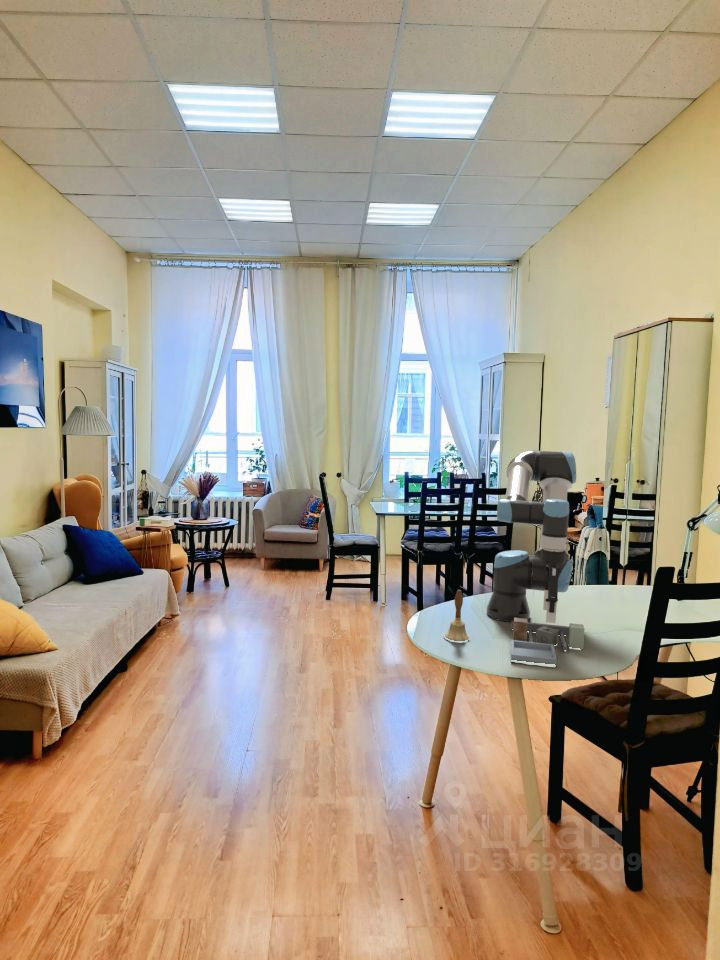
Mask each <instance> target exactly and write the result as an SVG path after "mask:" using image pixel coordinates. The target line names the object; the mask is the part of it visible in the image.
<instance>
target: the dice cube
mask: <svg viewBox="0 0 720 960" xmlns="http://www.w3.org/2000/svg"><path fill="white" fill-rule="evenodd" d="M558 633H559V630H557V629H553V628H550V627H546V626H543V627H541V628H539V629H537V633H535V634H536V635H535V643H544V644H554V645H556V644H557V643H559V636H558Z"/></svg>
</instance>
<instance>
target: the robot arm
mask: <svg viewBox="0 0 720 960" xmlns="http://www.w3.org/2000/svg"><path fill="white" fill-rule="evenodd" d="M506 477H507V485H506V490H505V491H506V492H505V497H504V499H503V498H501V499H498V500H497V507H496V519H497V521H498V522H504V523H508V524H512V523H513V524H527V525H538V526H539V525H540V535H539V536H540V538H539V548H538V549H537V550H536V551H534V556H530V554H529V552H528V551H526V550H519V549H518V550H517V549H516V550H515V549H514V550H505V551H501V552H498V553H496V555H495V557H494V565H493V569H494V570H493V582H492V583H493V585H492V594H491V595H490V598H489V600H488V604H487V607H486V615H487V614H488V615H489V616H488V615H487V616H488V617H490V616H491V617H490V618H492V617H493V618H492V619H494V618H495V619H494V620H497V619H498V621H501V620H502V622H508V621H509V623H512V621H514V618H524V619H527V621H529V619H530V616H531V611H530V606H529V602H528V599H527V590H534V591H542V592H544V596H543V608H542V609H543V611H546V613H545V615H546V616H545V622H546V623H550V624H556V621H557V620H556V618H557V605H558V601H559V599H558V595H559V594H558V593H565V592H567V591H568V590H569V585H570V581H571V577H572V572H573V564H574V561H573V560H572V559H570V554H569V553H568V552H567V551H566V549H567V545H568V543H570V540H569V539H568V529H569V519H570V518H569V516H570V503H569V501H568V491H569V490H570V489H571V488H572V487H573V484H576V482H577V463H576V458H575V456H574V454H573V453H572V452H566V451H562V450H561V451H550V450H548V451H547V450H527V451H524V452H521V453H519V454H517V455H516V456H515V457H513V459H511V460H510V461H509V463H508V464H507V468H506ZM530 481H531V482H532V481H534V482H539V484H538V485H539V487H540V488H541V489H542V501H534V500H533V501H532V500H529V491H530Z"/></svg>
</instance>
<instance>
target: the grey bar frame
mask: <svg viewBox="0 0 720 960" xmlns="http://www.w3.org/2000/svg"><path fill="white" fill-rule="evenodd" d="M510 624H511V625H510V630H511V629H514V621H512V622H510ZM543 626H546V627H550V628H553V629H557V630H559V633H558V635H560V636H559V638H560V637H561V639H560V642H561V641H562V643H561V645H562V644H563V647H562V649H563V648H564V650H567V651H568V647H567V646H568V645H567V643H566V639H565V638H566V637H565V636H564V635H566V636H569V626H567V625H559V624H558V625H557V624H547V623H540V622H539V623H538V622H530V621H529V622H528V621H527V631H529V633H528V640H530V642H534V641H533V633H532V632H536V633H537V629H539V628H541V627H543ZM536 633H535V634H536Z"/></svg>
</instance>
